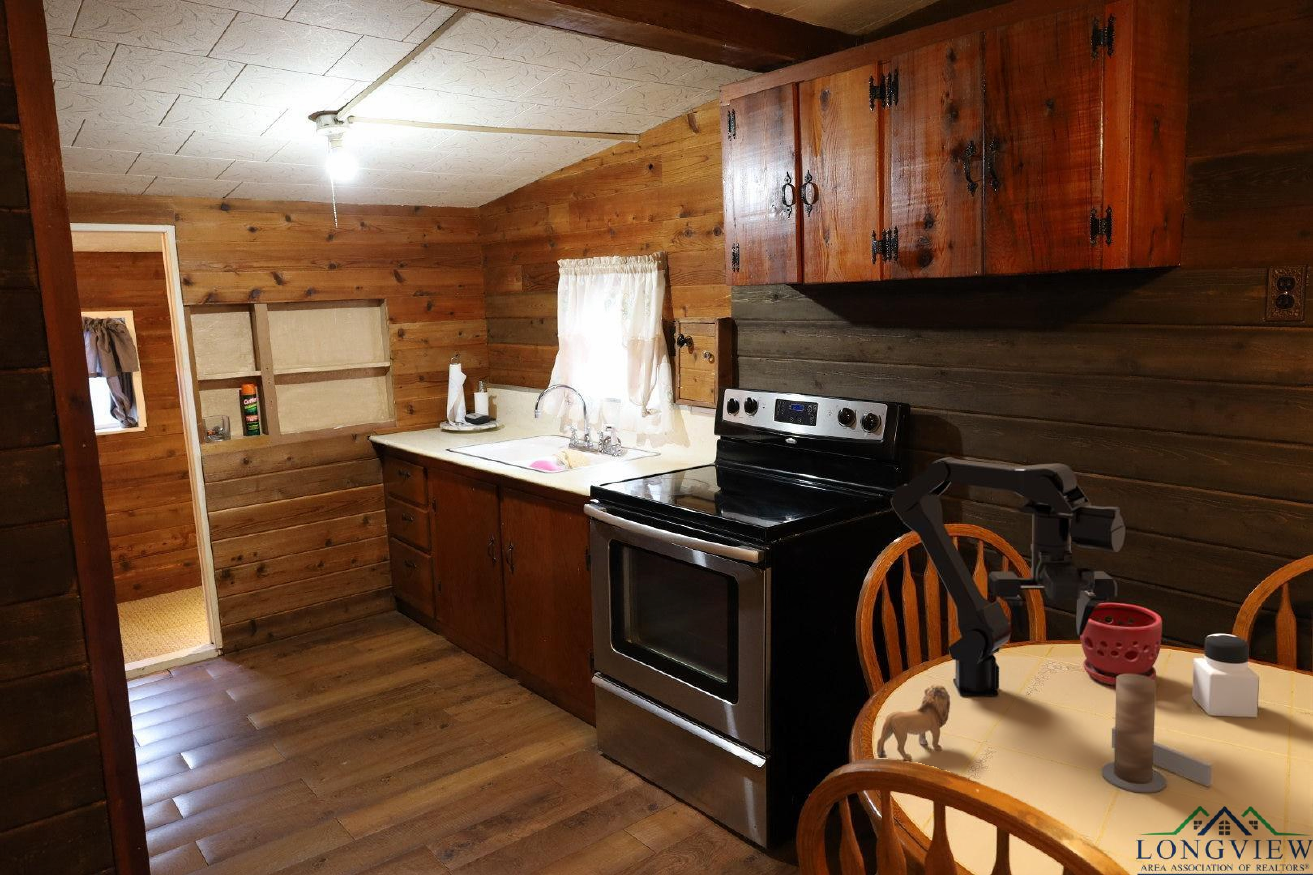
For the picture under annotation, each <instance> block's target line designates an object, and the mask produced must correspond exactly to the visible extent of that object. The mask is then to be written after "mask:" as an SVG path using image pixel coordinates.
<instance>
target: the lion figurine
mask: <svg viewBox="0 0 1313 875" xmlns="http://www.w3.org/2000/svg"><path fill="white" fill-rule="evenodd" d="M950 710H951V696H950V695H949V692H948V691H947V689H946V688H945V686H942V685H940V684H931V685H930V686H928V687H927V688H926V689H924V695H923V698H922V702H921V705H920V707H918V708H917V709H914V710H910V711H901V710H900V711H893V712H891V713H890V714H888V715H887V716H886V718H885V721H884V723H883V725H882V730H881V733H880V737H879V739H878V740H877V744H876V754H877V755H878V758H883V759H884V756H885V755H886V750H885V749H884V748H885V743H886V742H887V741H888V740H889V739H890V738H891V736H892V735H894V738H895V740H896V741H897V747H896V751H897V752H898V753H899V754H900V756H901V757H902V759H904V760H905V761H911V760H912V759H913V757H912V755H911V754H910V753H906V750H905V745H906V742H907V739H908V735H912V736H917V735H918V743H919V744H921V745H927V744H928V740H927V739H926V733H927V732H928V731H929V732H930V733H931V736H932V737H931V738H932V743H931V745H932V748H933V749H934V750H937V751H941V750H942V748H943V747H942V746H941V744H939V742H940V736H941V728H942V727H943V726H945V725H946V724H947V722H948V720H949V715H950Z"/></svg>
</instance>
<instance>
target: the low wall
mask: <svg viewBox="0 0 1313 875" xmlns="http://www.w3.org/2000/svg"><path fill="white" fill-rule="evenodd" d="M1111 748H1112V749H1115V726H1114V727H1112V728H1111ZM1154 765H1155V766H1157V767H1159V768H1162V769H1164V770H1166V771H1169V772H1171V773H1174V774H1176V775H1179V776H1181V777H1183V778H1186V779H1188V780H1191V781H1193V782H1196V783H1199V784H1200V785H1203V786H1206V787H1209V786H1212V773H1213V772H1212V770H1213V764H1212V763H1210V762H1207V761H1204V760H1202V759H1199V758H1196V757H1195V756H1191V755H1189V754H1186V753H1184V752H1182V751H1179V750H1176V749H1174V748H1171V747H1168V746H1166V745H1163V744H1160V743H1158V742H1155V741H1154V752H1153V766H1154Z"/></svg>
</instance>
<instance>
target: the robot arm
mask: <svg viewBox="0 0 1313 875" xmlns="http://www.w3.org/2000/svg"><path fill="white" fill-rule="evenodd" d="M951 484H960V485H967V486H975V487H980V488H989V489H997V490H1003V491H1008V492H1012V493H1014V494H1016V495H1019V497H1022V498H1024V499H1027V500H1028V501H1027V502H1026V503H1025V504H1024V505H1023V506H1021V507H1020V508H1018V511H1019V513H1020V514H1029V515H1032V518H1031V520H1032V521H1031V522H1032V524H1031V525H1032V529H1031V530H1032V531H1031V533H1032V534H1031V537H1032V539H1031V543H1030V551H1031V567H1030V575H1031V577H1018V576H1017V575H1016V573H1014V571H990V572H989V574H988V575H987V588H988V589H989V591H990V592H991V594H992V595H993V596H995V597H997V598H1000V599H1001V600H1002V601H1003V602H1005V603H1006V604H1007V605H1008V608H1009V612H1010V613H1011V617H1012V619H1013V621H1014V624H1015V627H1016V630H1017V632H1018V635H1020V636H1023V635H1024V620H1023V610H1022V605H1023V598H1022V597H1021V596H1020V594H1021V593H1022V591H1024V590H1027V591H1028V590H1039V591H1040V590H1045V592H1046V595H1047V597H1048V599H1050V600H1053V601H1059V600H1072V601H1076V620H1075V622H1076V633H1077V635H1078V636H1079V637H1080V636H1081V635H1082V634H1083V632H1084V629H1085V627H1086V625H1087V622H1088V620H1089V618H1090V616H1091V614H1092V612H1093V610H1094V609H1095V607H1096V606H1097V605H1098V604H1100V603H1107V601H1109V598H1116V597H1117V596H1118V584H1117V581H1116V580H1114V578H1113V577H1111V576H1110V575H1109V574H1107V573H1106V572H1105V571H1103V570H1102V571H1101V570H1097V571H1096V570H1094V569H1093V567H1092V566H1075V562H1074V553H1073V552H1072V550H1071V547H1072V546H1071V545H1072V544H1071V543H1075V544H1076V546H1077V547H1080V548H1085V549H1086V548H1087V549H1093V550H1094V549H1095V550H1100V551H1101V550H1102V551H1107V552H1108V551H1109V552H1113V553H1114V552H1115V553H1117V552H1119V551H1120V550H1121V549H1122V548H1123V545H1124V540H1125V536H1126V526H1125V524H1124V520H1123V517H1122V516H1121V515H1120V514H1121V512H1120V511H1121V509H1120V507H1118V506H1098V505H1092V503H1091V500H1090V499H1089V498H1088V496H1087V495H1086V494H1085V492H1084V491H1083V489H1082V488H1081V487H1080V485H1079V484H1078V483H1077V477H1076V475H1075V473H1074V471H1073V470H1072V469H1071V467H1070V466H1068V465H1067V464H1063V463H1044V464H1043V463H1040V464H1032V465H1024V466H1023V465H1021V466H1016V465H1007V464H1001V463H1000V464H999V463H991V462H983V461H973V460H965V459H957V458H955V457H953V456H952V457H951V456H949V457H944V458H941V459H936V460H935V461H934V462H932V463H931V464H930V465H929V466H928V467H927V468H926V469H925V470H924V471H922V472H921V473H919V474H918V475H917V476H915V477H914V478H912V479H911V480H910V481H909V482H907V483H904V484H902V485H900V486H897V487H896V488H895V489H894V490H893V492H892V495H891V498H890V504H891V506H892V508H893V510H894V512H895V513H896V514H897V516H898V517H899V519H900V520H901V521H902V522H903V524H905V525H906V526H907V527H908V528H909V529H910V530H912V531H913V532H915V533H916V534H917V536H918V537H919V539H920V541H921V543H922V545H923V547H924V549H925V550H926V552H927V554H928V556H929V558H930V560H931V562H932V564H933V566H934V567H935V569H936V572H937V573H938V575H939V577H940V579H941V580H942V582H943V584H944V586H945V588H946V590H947V592H948V594H949V596H950V599H951V600H952V602H953V603H954V606H955V608H956V621H957V628H958V631H959V633H960V636H961V637H960V638H959V639H957V640H956V641H955V642H954V643H952V644H951V645H950V646H948V651H949V653H950V658H951V659H952V660H955V678H953V679H952V682H953V685H954V686H955V687H956V690H957V693H958V694H959V696H965V697H966V696H969V697H970V696H971V697H972V696H973V697H974V696H977V697H978V696H980V697H982V696H983V697H998V696H999V691H998V690H999V689H1000V666H999V664H998V663H997V658H996V656H995V654H996V653H999V652H1000V650H1001V648H1002V646H1003V645H1005V644H1006V643H1007V642H1008V641H1009V639H1010V637H1011V633H1012V629H1011V626H1010V623H1011V622H1012V621H1011V619H1010V618H1009V617H1008V616H1007V615H1006V613H1005V612H1004V608H1003V607H1002V604H1001V602H1000V601H999V600H996V601H994V602H990V601H989V600H987V598H985V597H984V596H983V595H982V593H981V591H980V589H979V588H978V586H977V583H976V582H975V580H974V578H973V577H972V574H971V572H970V571H969V568H968V567H967V565H966V563H965V562H964V560H963V557H962V556H961V554H960V552H959V550H958V548H957V547H956V545H955V543H954V541H953V539H952V537H951V535H950V533H949V532H948V530H947V528H946V526H945V523H944V520H943V519H944V518H943V506H942V502H941V499H940V497H939V496H940V495H941V494H942V493H944V492H945V491H946V490H947V489H948V488H949V487H950V485H951ZM1067 499H1068V500H1067Z"/></svg>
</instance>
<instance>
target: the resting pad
mask: <svg viewBox="0 0 1313 875" xmlns="http://www.w3.org/2000/svg"><path fill="white" fill-rule="evenodd" d="M1101 776H1102V777H1103V779H1104V780H1105V781H1106V782H1108V783H1109V784H1111V785H1113V786H1115V787H1117V788H1120V789H1122V790H1125V791H1127V792H1132V793H1133V792H1134V793H1140V794H1154V793H1158V792H1159V793H1160V792H1161V791H1164V789H1165V788H1166V786H1167V779H1166V778H1165V776H1164V775H1163V774H1162V773H1161V772H1160V771H1158V770H1156V769H1154V768H1153V780H1152V781H1151V782H1150V783H1147V784H1135V783H1130V782H1126V781H1124V780H1122V779H1120V778H1118V777H1117V776H1116V775H1115V774H1114V761H1112V762H1108V763H1106V764H1105V765H1103V766H1102V768H1101Z"/></svg>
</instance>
